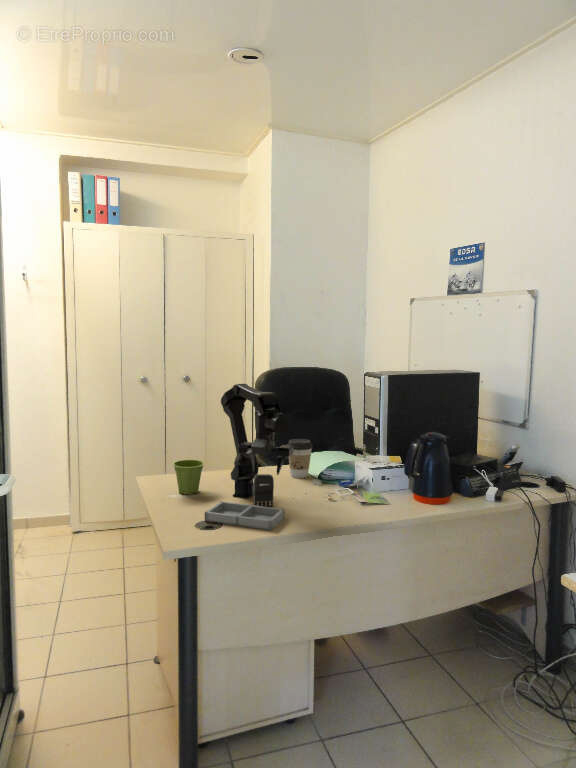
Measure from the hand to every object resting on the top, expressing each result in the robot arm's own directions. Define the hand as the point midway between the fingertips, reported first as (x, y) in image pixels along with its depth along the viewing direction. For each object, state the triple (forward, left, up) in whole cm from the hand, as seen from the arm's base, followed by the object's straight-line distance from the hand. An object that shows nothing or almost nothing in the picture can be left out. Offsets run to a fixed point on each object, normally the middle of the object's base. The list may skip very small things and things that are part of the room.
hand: (265, 473), depth 188 cm
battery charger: (0, 0, -12) cm, 12 cm away
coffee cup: (-1, +43, -12) cm, 44 cm away
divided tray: (-1, -14, -12) cm, 19 cm away
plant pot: (-33, +6, -12) cm, 36 cm away
